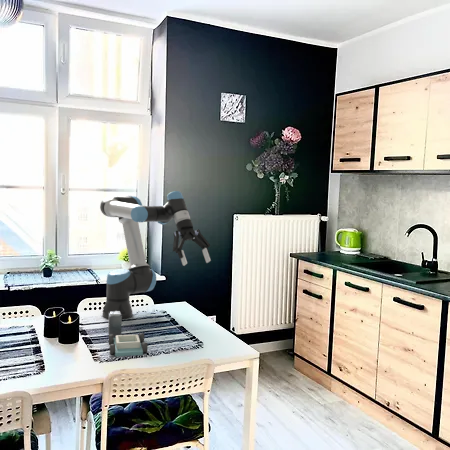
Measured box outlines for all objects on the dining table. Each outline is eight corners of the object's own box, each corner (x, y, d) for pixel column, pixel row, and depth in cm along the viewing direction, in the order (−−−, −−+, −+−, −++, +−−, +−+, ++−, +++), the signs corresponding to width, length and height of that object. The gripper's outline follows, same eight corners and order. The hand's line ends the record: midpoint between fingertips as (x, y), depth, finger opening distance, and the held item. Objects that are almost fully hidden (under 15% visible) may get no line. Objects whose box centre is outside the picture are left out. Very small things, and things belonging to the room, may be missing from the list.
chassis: (108, 341, 208) (108, 332, 207) (142, 339, 212) (143, 330, 211) (110, 356, 191) (110, 347, 190) (147, 354, 195) (148, 345, 194)
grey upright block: (108, 336, 214) (109, 314, 213) (108, 332, 220) (108, 311, 219) (121, 335, 216) (121, 314, 215) (120, 331, 221) (120, 310, 220)
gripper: (165, 219, 213) (179, 262, 206) (208, 217, 229) (222, 257, 223) (157, 226, 218) (170, 269, 211) (199, 224, 234) (213, 263, 228)
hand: (197, 263), depth 217 cm, fingers open, 13 cm apart
